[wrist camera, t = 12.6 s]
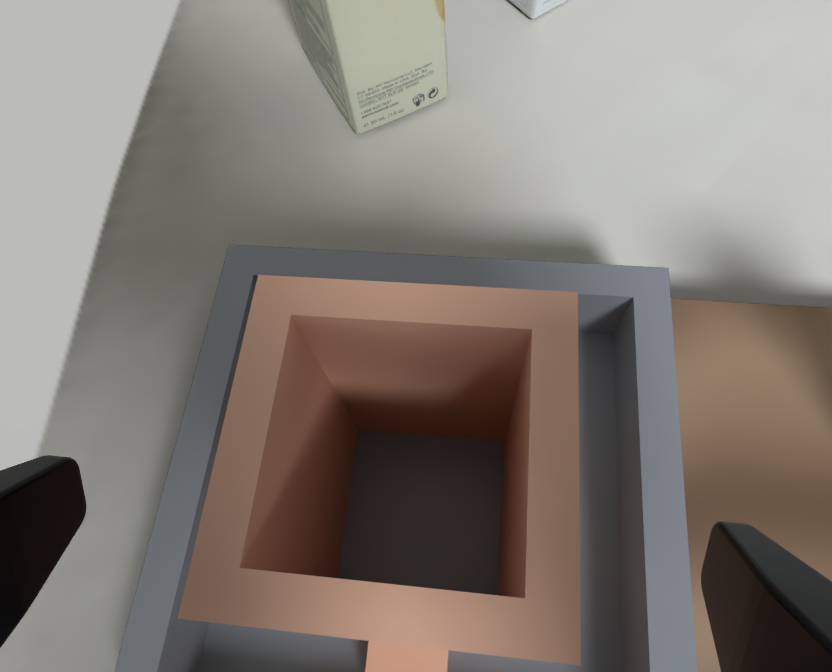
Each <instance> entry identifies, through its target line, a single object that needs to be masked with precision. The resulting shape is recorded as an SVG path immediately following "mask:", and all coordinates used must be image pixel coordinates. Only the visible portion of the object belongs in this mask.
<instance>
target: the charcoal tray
mask: <svg viewBox="0 0 832 672" xmlns="http://www.w3.org/2000/svg"><path fill="white" fill-rule="evenodd" d="M258 275H271V276H290V277H308V278H327V279H345V280H364V281H383V282H401V283H420V284H438V285H457V286H475V287H494V288H512V289H531V290H550V291H568V292H578V383H579V509H580V635H581V666H579V665H571V664H562V663H553V662H545V661H536V660H528V659H519V658H511V657H502V656H494V655H485V654H477V653H468V652H460V651H451V650H449V658H448V672H697V659H696V645H695V631H694V617H693V603H692V589H691V575H690V561H689V547H688V533H687V519H686V505H685V492H684V478H683V464H682V450H681V436H680V422H679V408H678V394H677V380H676V366H675V352H674V338H673V324H672V310H671V296H670V282H669V268H661V267H642V266H623V265H604V264H585V263H567V262H548V261H529V260H510V259H491V258H472V257H453V256H434V255H416V254H397V253H378V252H359V251H340V250H321V249H302V248H284V247H265V246H246V245H229V247H228V250H227V254H226V258H225V262H224V265H223V269H222V273H221V276H220V280H219V284H218V288H217V291H216V295H215V299H214V303H213V306H212V310H211V314H210V317H209V321H208V325H207V329H206V332H205V336H204V340H203V344H202V347H201V351H200V355H199V359H198V362H197V366H196V370H195V373H194V377H193V381H192V385H191V388H190V392H189V396H188V400H187V403H186V407H185V411H184V414H183V418H182V422H181V426H180V429H179V433H178V437H177V441H176V444H175V448H174V452H173V455H172V459H171V463H170V467H169V470H168V474H167V478H166V482H165V485H164V489H163V493H162V496H161V500H160V504H159V508H158V511H157V515H156V519H155V523H154V526H153V530H152V534H151V537H150V541H149V545H148V549H147V552H146V556H145V560H144V564H143V567H142V571H141V575H140V578H139V582H138V586H137V590H136V593H135V597H134V601H133V605H132V608H131V612H130V616H129V620H128V623H127V627H126V631H125V634H124V638H123V642H122V646H121V649H120V653H119V657H118V661H117V664H116V668H115V672H365V668H366V660H367V651H368V643H369V641H366V640H357V639H349V638H340V637H332V636H323V635H315V634H306V633H297V632H289V631H280V630H272V629H263V628H255V627H246V626H238V625H229V624H221V623H212V622H204V621H195V620H187V619H178V614H179V610H180V606H181V601H182V597H183V593H184V589H185V584H186V580H187V576H188V572H189V567H190V563H191V559H192V555H193V550H194V546H195V542H196V538H197V533H198V529H199V525H200V520H201V516H202V512H203V508H204V503H205V499H206V495H207V491H208V486H209V482H210V478H211V474H212V469H213V465H214V461H215V457H216V452H217V448H218V444H219V440H220V435H221V431H222V427H223V422H224V418H225V414H226V410H227V405H228V401H229V397H230V393H231V388H232V384H233V380H234V376H235V371H236V367H237V363H238V359H239V354H240V350H241V346H242V341H243V337H244V333H245V329H246V324H247V320H248V316H249V312H250V307H251V303H252V299H253V295H254V290H255V286H256V282H257V278H258ZM503 459H504V442H498V441H486V440H473V439H461V438H448V437H436V436H423V435H411V434H398V433H386V432H374V431H361V430H359V432H358V439H357V446H356V453H355V460H354V467H353V474H352V481H351V488H350V496H349V503H348V510H347V517H346V524H345V531H344V538H343V545H342V552H341V559H340V566H339V573H338V578H339V579H349V580H358V581H368V582H377V583H386V584H396V585H405V586H414V587H424V588H433V589H442V590H452V591H461V592H471V593H480V594H489V595H498V576H499V553H500V529H501V506H502V482H503Z"/></svg>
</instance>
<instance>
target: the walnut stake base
mask: <svg viewBox="0 0 832 672" xmlns="http://www.w3.org/2000/svg"><path fill="white" fill-rule="evenodd" d="M671 310H672V324H673V338H674V352H675V366H676V380H677V394H678V408H679V422H680V436H681V450H682V464H683V478H684V492H685V505H686V519H687V533H688V547H689V561H690V575H691V589H692V603H693V617H694V631H695V645H696V659H697V672H721V669H720V665H719V661H718V656H717V652H716V648H715V644H714V639H713V635H712V631H711V627H710V622H709V618H708V614H707V610H706V605H705V601H704V597H703V593H702V587H701V571H702V566H703V562H704V558H705V554H706V550H707V545H708V541H709V537H710V533H711V530H712V528H713V526H714V524H716V523H717V522H719V521H724V522H734V523H745V524H749V525H751V526H753V527H754V528H756V529H757V530H759V531H760V532H762V533H763V534H765V535H766V536H767V537H769V538H770V539H772V540H773V541H775V542H776V543H777V544H779V545H780V546H782V547H783V548H785V549H786V550H787V551H789V552H790V553H792V554H793V555H795V556H796V557H797V558H799V559H800V560H802V561H803V562H805V563H806V564H807V565H809V566H810V567H812V568H813V569H815V570H816V571H818V572H819V573H820V574H822V575H823V576H825V577H826V578H828V579H829V580H830V581H832V308H823V307H805V306H788V305H771V304H754V303H737V302H720V301H702V300H685V299H671Z"/></svg>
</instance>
